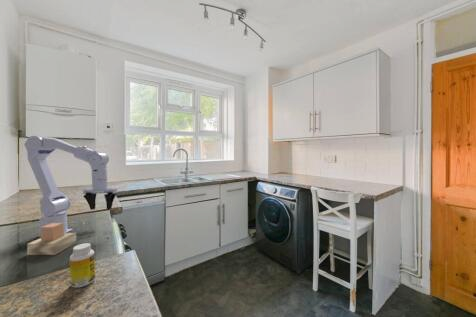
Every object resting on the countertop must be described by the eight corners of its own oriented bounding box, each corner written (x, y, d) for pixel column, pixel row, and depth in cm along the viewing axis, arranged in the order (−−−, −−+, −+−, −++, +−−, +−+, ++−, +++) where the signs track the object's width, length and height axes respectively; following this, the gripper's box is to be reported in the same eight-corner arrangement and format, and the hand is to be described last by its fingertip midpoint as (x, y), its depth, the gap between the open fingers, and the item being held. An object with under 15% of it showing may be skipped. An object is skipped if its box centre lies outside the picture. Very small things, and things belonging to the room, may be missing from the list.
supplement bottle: (93, 284, 58) (92, 248, 58) (68, 291, 56) (66, 252, 55) (97, 274, 63) (95, 240, 63) (73, 279, 61) (71, 244, 60)
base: (27, 254, 76) (26, 243, 76) (52, 242, 86) (52, 233, 86) (54, 254, 76) (53, 243, 76) (76, 242, 86) (76, 232, 86)
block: (41, 240, 79) (40, 227, 79) (52, 235, 84) (51, 223, 83) (53, 240, 79) (52, 227, 79) (63, 235, 83) (63, 223, 83)
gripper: (77, 180, 93) (78, 211, 93) (109, 180, 92) (111, 211, 93) (89, 178, 100) (90, 207, 100) (119, 178, 99) (120, 207, 100)
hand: (101, 209), depth 97 cm, fingers open, 7 cm apart
